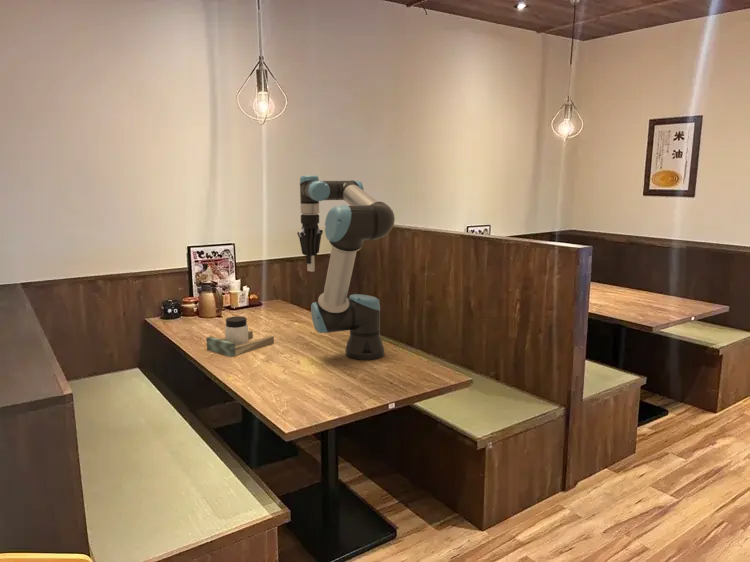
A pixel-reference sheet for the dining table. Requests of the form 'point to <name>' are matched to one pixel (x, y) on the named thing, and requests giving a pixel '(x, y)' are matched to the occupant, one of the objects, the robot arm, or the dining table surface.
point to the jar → (236, 330)
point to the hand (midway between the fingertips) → (311, 271)
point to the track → (232, 350)
